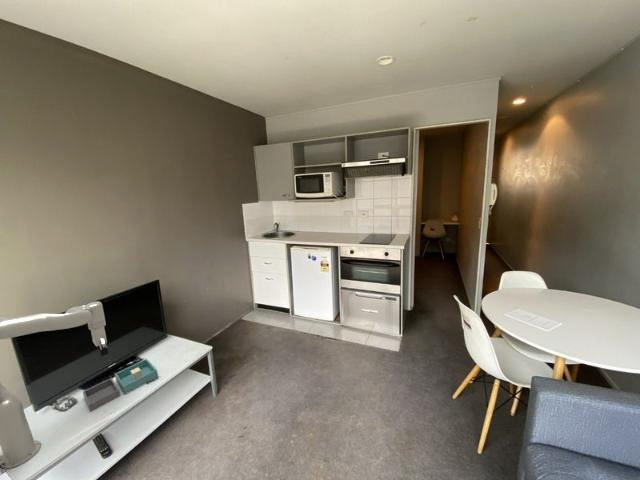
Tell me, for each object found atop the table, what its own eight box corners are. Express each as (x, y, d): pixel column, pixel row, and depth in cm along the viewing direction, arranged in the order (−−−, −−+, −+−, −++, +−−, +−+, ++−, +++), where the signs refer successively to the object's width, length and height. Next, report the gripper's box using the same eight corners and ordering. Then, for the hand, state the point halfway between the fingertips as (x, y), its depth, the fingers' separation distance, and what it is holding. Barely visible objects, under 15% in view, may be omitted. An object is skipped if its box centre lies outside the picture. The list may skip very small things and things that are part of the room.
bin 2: (125, 395, 160) (123, 386, 159) (116, 382, 171) (114, 373, 170) (158, 377, 173) (156, 369, 172) (148, 366, 185) (146, 358, 183)
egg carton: (52, 409, 153) (50, 403, 152) (68, 399, 160) (66, 393, 159) (64, 414, 149) (62, 408, 148) (80, 403, 156) (78, 397, 155)
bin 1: (90, 413, 149) (88, 405, 148) (84, 398, 159) (82, 391, 158) (121, 396, 159) (119, 389, 158) (113, 384, 169) (111, 377, 168)
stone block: (134, 382, 169) (132, 374, 168) (132, 379, 172) (130, 371, 170) (142, 378, 172) (140, 369, 171) (140, 375, 175) (138, 367, 174)
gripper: (85, 321, 154) (90, 349, 157) (91, 331, 143) (98, 360, 146) (101, 317, 160) (106, 343, 163) (109, 326, 149) (114, 354, 152)
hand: (102, 351), depth 155 cm, fingers open, 9 cm apart
